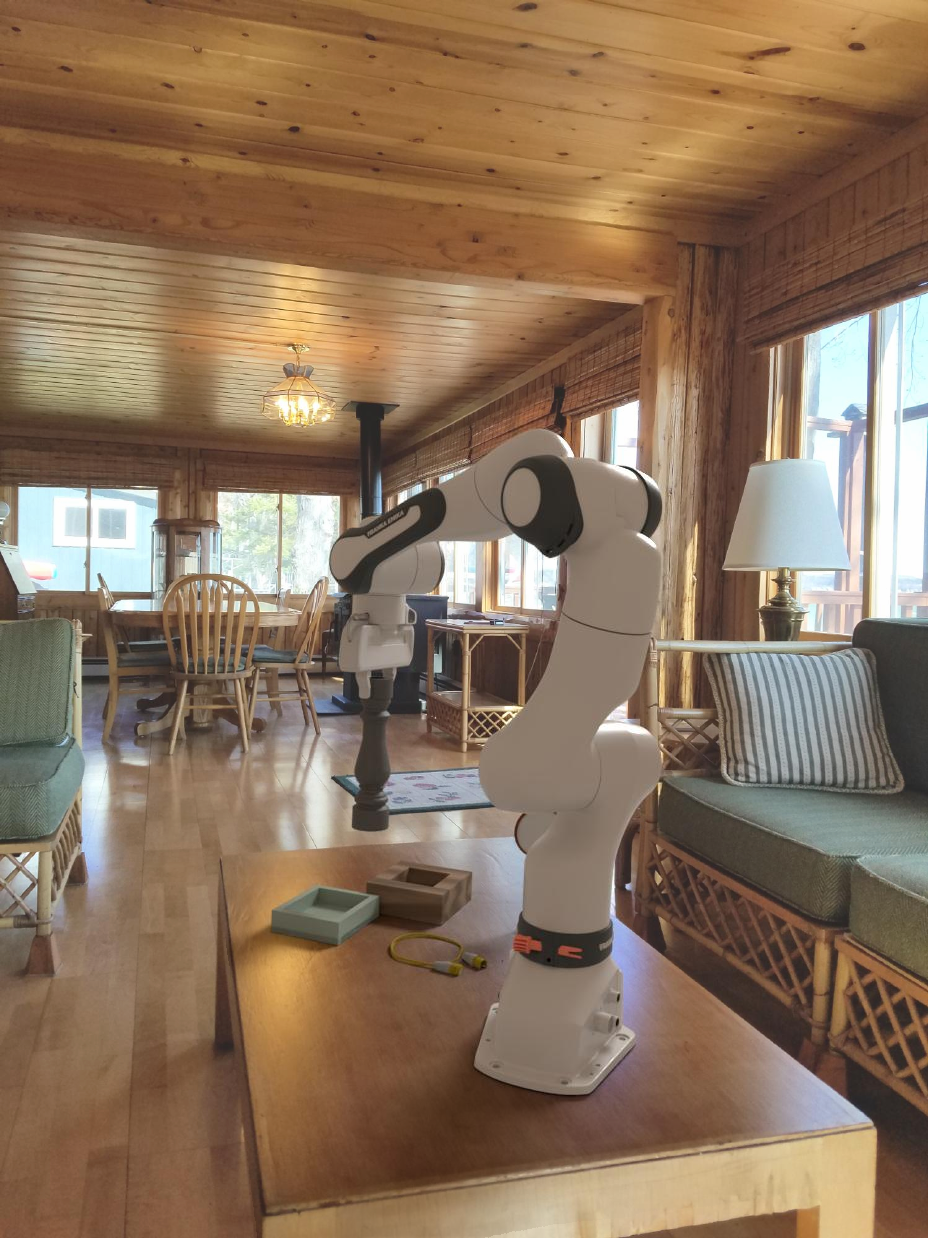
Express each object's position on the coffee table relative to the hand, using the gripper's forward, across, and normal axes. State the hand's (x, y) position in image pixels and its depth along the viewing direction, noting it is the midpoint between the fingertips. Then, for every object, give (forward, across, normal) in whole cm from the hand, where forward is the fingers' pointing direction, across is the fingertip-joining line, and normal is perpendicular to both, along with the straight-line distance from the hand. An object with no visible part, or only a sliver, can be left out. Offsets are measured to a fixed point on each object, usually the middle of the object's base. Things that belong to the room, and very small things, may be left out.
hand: (375, 696), depth 150 cm
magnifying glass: (+37, +9, -26) cm, 47 cm away
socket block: (+37, +9, -6) cm, 38 cm away
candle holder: (+22, 0, 0) cm, 22 cm away
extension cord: (+38, -10, -16) cm, 42 cm away
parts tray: (+37, -6, +4) cm, 38 cm away
